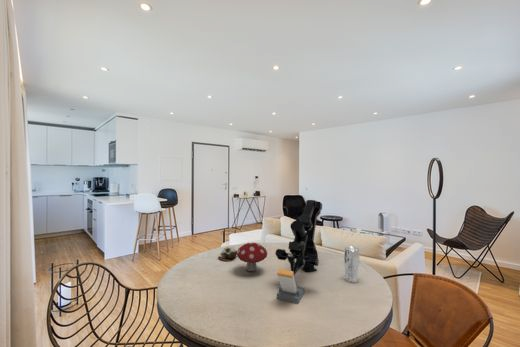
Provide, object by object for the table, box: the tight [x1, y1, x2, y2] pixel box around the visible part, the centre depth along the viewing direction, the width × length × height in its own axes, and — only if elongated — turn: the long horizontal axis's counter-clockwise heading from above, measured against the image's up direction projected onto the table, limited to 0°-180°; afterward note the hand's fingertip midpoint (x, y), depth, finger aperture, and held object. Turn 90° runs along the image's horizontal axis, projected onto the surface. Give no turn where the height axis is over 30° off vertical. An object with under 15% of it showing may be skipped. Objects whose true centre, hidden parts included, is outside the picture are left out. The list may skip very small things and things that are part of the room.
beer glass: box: [343, 246, 360, 284], centre depth 116 cm, size 7×7×15 cm
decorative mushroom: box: [236, 242, 268, 272], centre depth 125 cm, size 16×16×15 cm
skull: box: [218, 244, 238, 262], centre depth 145 cm, size 12×10×10 cm
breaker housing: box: [276, 284, 306, 305], centre depth 101 cm, size 10×9×4 cm
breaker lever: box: [276, 268, 297, 294], centre depth 96 cm, size 2×6×12 cm, turn 65°
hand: (292, 275), depth 103 cm, fingers closed
